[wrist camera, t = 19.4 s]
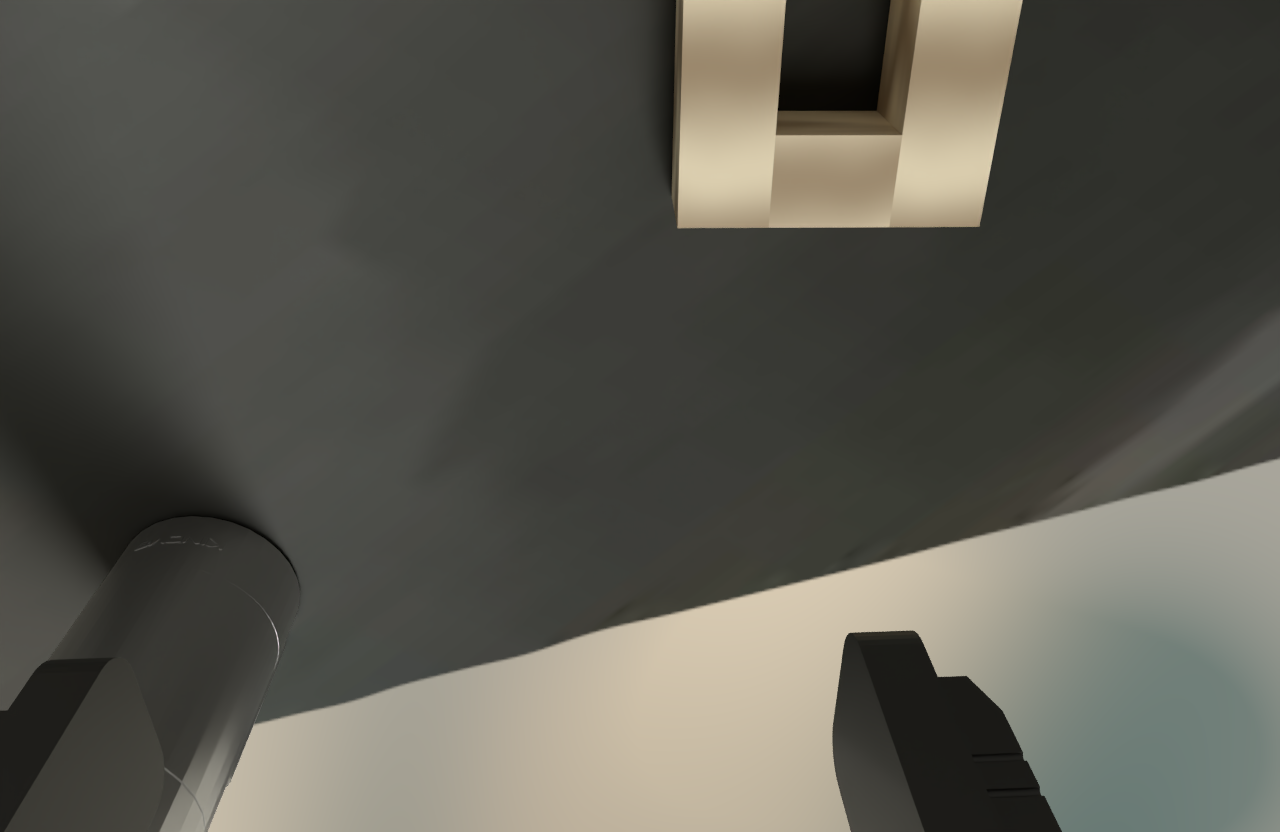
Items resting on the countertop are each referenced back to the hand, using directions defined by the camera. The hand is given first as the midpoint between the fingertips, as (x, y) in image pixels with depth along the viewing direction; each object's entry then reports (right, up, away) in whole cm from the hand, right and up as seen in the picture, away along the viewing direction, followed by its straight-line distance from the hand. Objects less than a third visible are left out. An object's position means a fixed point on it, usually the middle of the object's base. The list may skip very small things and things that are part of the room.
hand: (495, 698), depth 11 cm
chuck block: (+9, +18, +27) cm, 34 cm away
